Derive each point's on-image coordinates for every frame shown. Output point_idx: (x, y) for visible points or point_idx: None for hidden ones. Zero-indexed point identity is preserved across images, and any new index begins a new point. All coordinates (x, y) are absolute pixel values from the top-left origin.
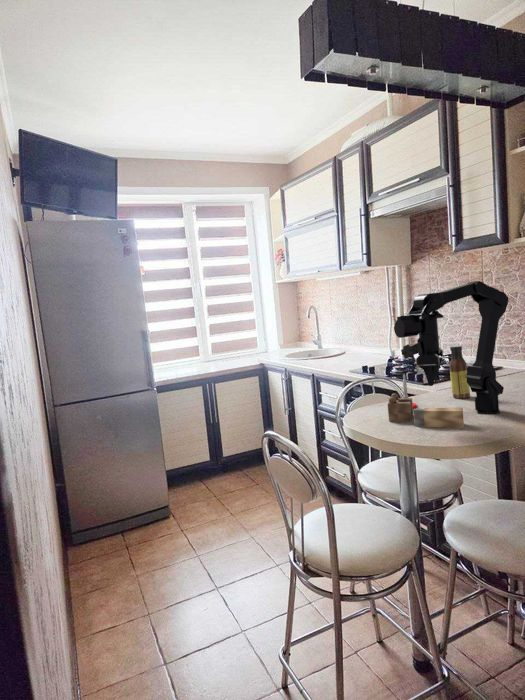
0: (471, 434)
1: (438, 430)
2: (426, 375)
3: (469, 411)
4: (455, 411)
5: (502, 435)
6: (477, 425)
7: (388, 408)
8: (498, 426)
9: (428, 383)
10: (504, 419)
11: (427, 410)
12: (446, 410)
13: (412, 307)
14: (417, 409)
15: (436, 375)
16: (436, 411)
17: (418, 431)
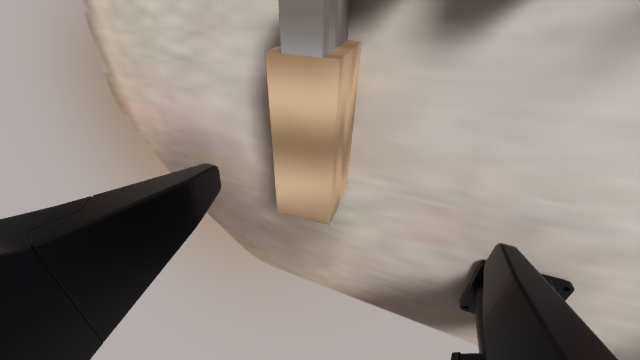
0: (234, 176)
1: (257, 91)
2: (84, 206)
3: (541, 248)
4: (276, 188)
5: (240, 232)
6: None
7: None
8: (314, 251)
9: (186, 169)
10: (386, 286)
11: (277, 74)
12: (280, 161)
13: None
14: (298, 11)
15: (485, 319)
16: (271, 117)
17: (231, 6)
